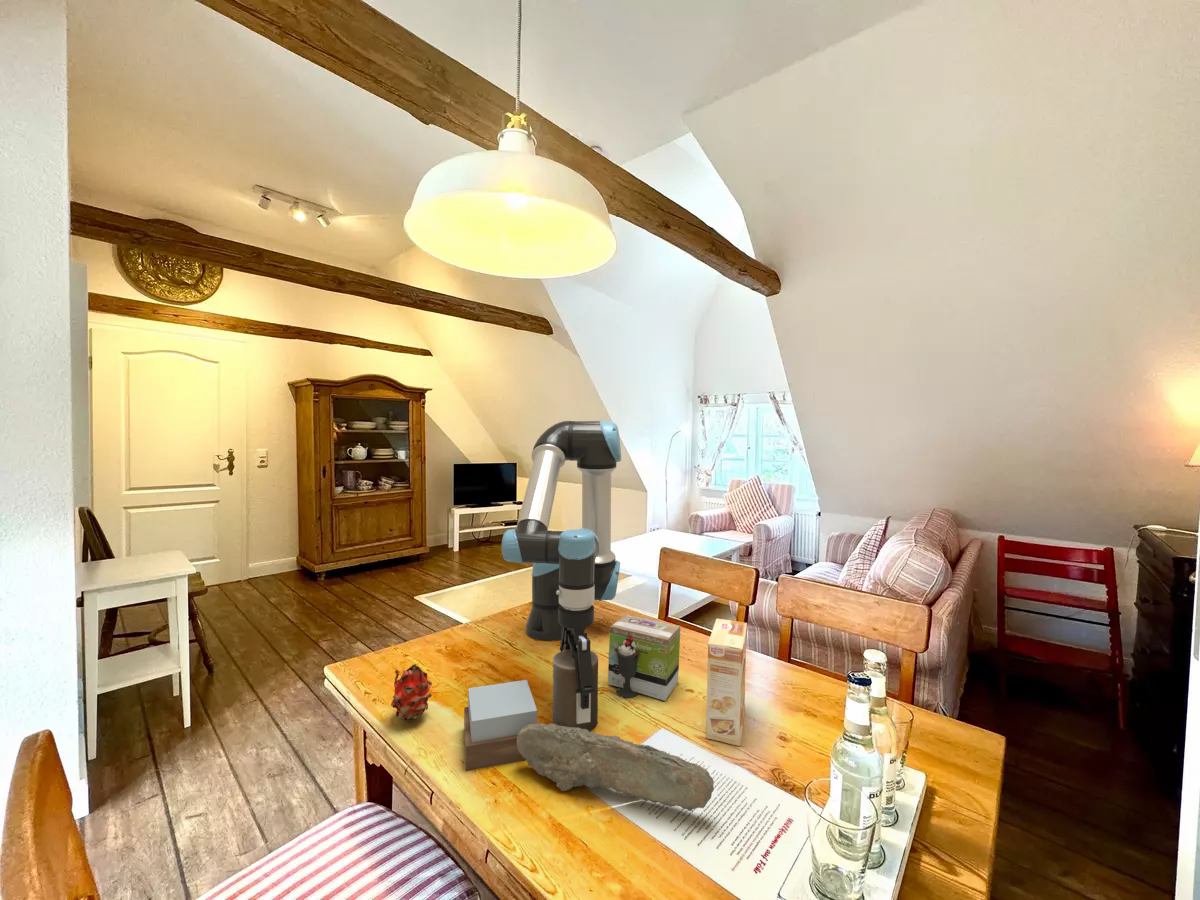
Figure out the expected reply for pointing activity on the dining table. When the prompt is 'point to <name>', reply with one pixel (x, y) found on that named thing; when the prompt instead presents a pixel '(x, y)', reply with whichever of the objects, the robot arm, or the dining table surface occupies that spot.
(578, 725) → the pillar candle
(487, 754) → the walnut block
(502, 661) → the dining table surface
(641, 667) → the tea box
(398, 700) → the dragon fruit
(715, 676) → the coffeecake box
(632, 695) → the sundae
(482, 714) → the slate block
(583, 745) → the long grey stone
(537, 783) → the dining table surface
